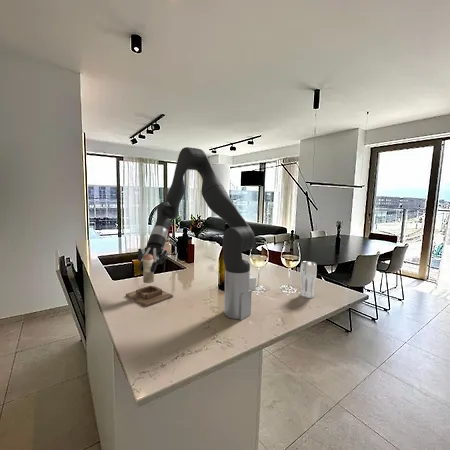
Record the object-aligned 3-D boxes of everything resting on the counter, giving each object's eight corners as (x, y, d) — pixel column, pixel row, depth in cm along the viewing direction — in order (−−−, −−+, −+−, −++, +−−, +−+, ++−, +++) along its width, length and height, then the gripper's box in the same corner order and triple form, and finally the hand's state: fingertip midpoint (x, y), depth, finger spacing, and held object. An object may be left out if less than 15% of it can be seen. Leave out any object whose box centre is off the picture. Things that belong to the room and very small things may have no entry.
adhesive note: (255, 290, 122) (256, 277, 122) (244, 291, 120) (244, 279, 119) (250, 285, 128) (250, 274, 127) (239, 287, 126) (239, 275, 125)
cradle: (172, 297, 112) (172, 290, 112) (146, 307, 103) (146, 299, 102) (151, 288, 123) (151, 281, 122) (125, 296, 113) (125, 289, 113)
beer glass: (314, 293, 119) (316, 261, 117) (315, 299, 112) (317, 266, 110) (298, 291, 121) (300, 260, 119) (298, 297, 114) (300, 264, 112)
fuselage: (156, 281, 112) (155, 253, 111) (147, 284, 109) (146, 255, 107) (150, 278, 115) (149, 252, 113) (141, 281, 112) (140, 253, 110)
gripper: (140, 232, 118) (127, 265, 108) (170, 234, 115) (159, 268, 105) (146, 241, 124) (134, 273, 114) (175, 243, 121) (164, 276, 111)
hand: (146, 270), depth 109 cm, fingers closed on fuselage, 4 cm apart
